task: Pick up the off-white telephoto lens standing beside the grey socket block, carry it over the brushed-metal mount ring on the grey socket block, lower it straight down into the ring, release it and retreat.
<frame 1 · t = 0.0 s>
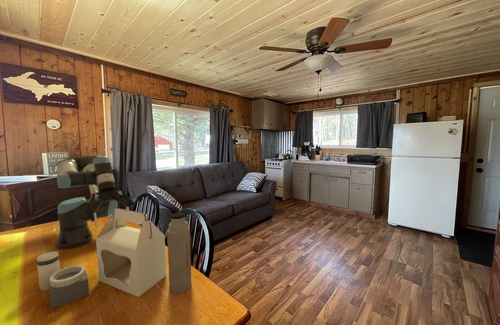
hand: (114, 223, 102), 15 cm above the table, tool tilted 35°, fingers open, 13 cm apart
telephoto lens: (50, 285, 82), on the table
gable box: (133, 279, 86), on the table
grey socket block: (70, 293, 77), on the table
thermos bottle: (180, 286, 81), on the table
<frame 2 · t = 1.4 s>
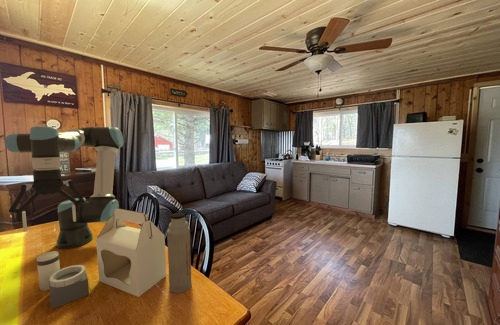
hand: (51, 225, 81), 23 cm above the table, tool pointing down, fingers open, 13 cm apart
nothing on the table moved.
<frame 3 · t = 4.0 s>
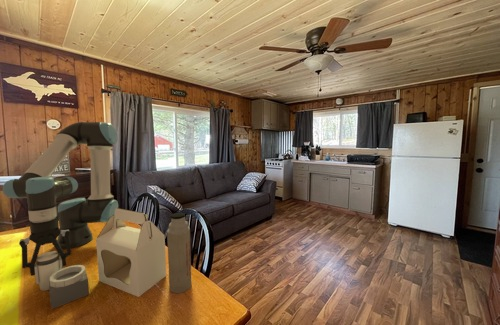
hand: (50, 278, 81), 3 cm above the table, tool pointing down, fingers closed on telephoto lens, 6 cm apart
telephoto lens: (50, 285, 82), on the table, touching gripper
everything else where it was.
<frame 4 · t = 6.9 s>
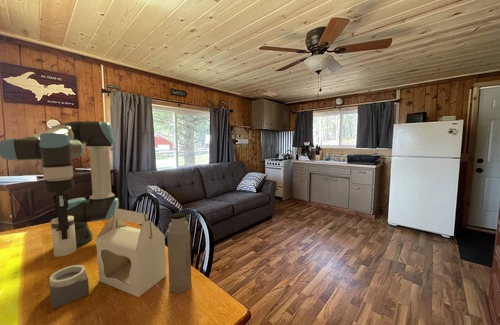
hand: (64, 243, 75), 19 cm above the table, tool pointing down, fingers closed on telephoto lens, 6 cm apart
telephoto lens: (65, 251, 75), point 16 cm above the table, touching gripper
everything else where it was.
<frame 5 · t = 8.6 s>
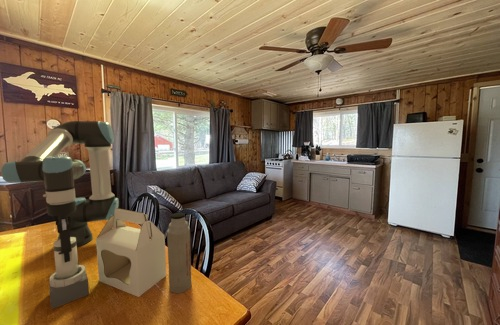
hand: (67, 265, 76), 11 cm above the table, tool pointing down, fingers closed on telephoto lens, 6 cm apart
telephoto lens: (67, 273, 76), point 8 cm above the table, touching gripper
everything else where it was.
when the fingers open (10 cm above the table, at t = 9.8 s): telephoto lens drops 1 cm, resting on grey socket block.
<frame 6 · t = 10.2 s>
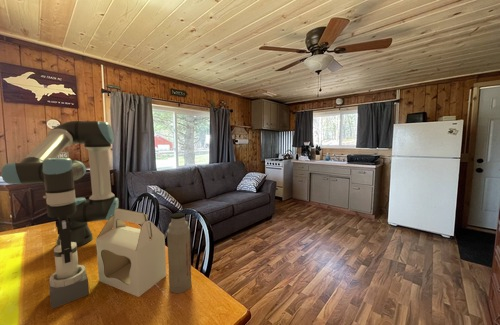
hand: (67, 262, 76), 12 cm above the table, tool pointing down, fingers open, 12 cm apart
telephoto lens: (68, 278, 76), point 6 cm above the table, touching grey socket block
everything else where it was.
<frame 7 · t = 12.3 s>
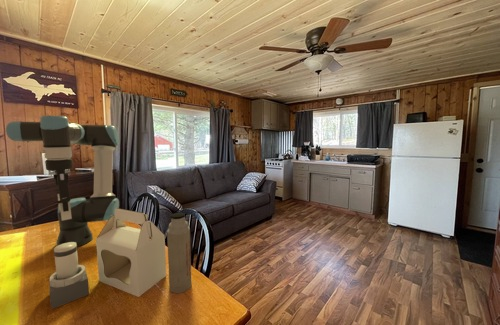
hand: (65, 214, 81), 27 cm above the table, tool pointing down, fingers open, 13 cm apart
nothing on the table moved.
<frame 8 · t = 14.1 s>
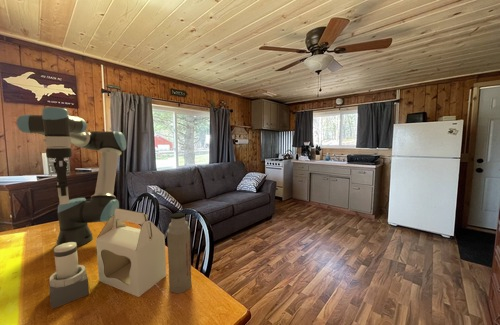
hand: (63, 200, 87), 31 cm above the table, tool pointing down, fingers open, 13 cm apart
nothing on the table moved.
at the end: telephoto lens 0.0 cm off-centre on the grey socket block, point 6.0 cm above the grey socket block's base; telephoto lens tilted 0°; the gripper is holding nothing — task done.
